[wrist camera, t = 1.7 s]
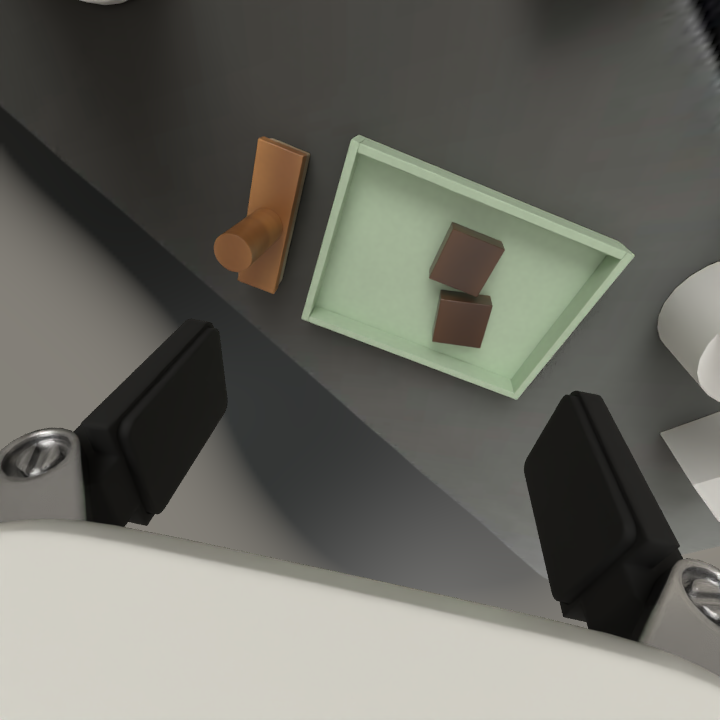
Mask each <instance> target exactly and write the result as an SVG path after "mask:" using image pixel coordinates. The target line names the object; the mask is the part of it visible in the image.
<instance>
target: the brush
mask: <svg viewBox="0 0 720 720" xmlns="http://www.w3.org/2000/svg"><path fill="white" fill-rule="evenodd" d="M309 158H310V153H308V152H305V151H303V150H300V149H298V148H295V147H293V146H290V145H288V144H285V143H283V142H280V141H278V140H275V139H273V138H271V139H269V138H266V137H261V138H258V144H257V151H256V158H255V165H254V172H253V178H252V185H251V192H250V199H249V206H248V213H247V217H246V218H244V219H243V220H241V221H240V222H239V223H237V224H236V225H234V226H233V227H231V228H230V229H229V230H227V231H226V232H224V233H223V234H221V235H220V236H219V237H218V238H217V239H216V241H215V243H214V253H215V256H216V258H217V260H218V261H219V263H220V264H221V265H222V266H223V267H225V268H226V269H228V270H230V271H233V272H239V274H238V281H241V282H243V283H246V284H248V285H251V286H254V287H256V288H259V289H262V290H264V291H267V292H270V293H272V294H274V293H275V292H276V290H277V289H278V285H279V283H280V282H281V281H282V278H283V274H284V269H285V265H286V261H287V256H288V252H289V247H290V243H291V238H292V234H293V229H294V225H295V221H296V216H297V212H298V207H299V203H300V198H301V194H302V189H303V185H304V181H305V176H306V172H307V167H308V163H309Z"/></svg>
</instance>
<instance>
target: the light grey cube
mask: <svg viewBox="0 0 720 720" xmlns="http://www.w3.org/2000/svg"><path fill="white" fill-rule="evenodd" d="M660 434H661V436H662V438H663V439H664V441H665V442H666V444H667V445H668V447H669V449H670V450H671V452H672V453H673V455H674V457H675V458H676V460H677V461H678V463H679V464H680V466H681V468H682V469H683V471H684V472H685V474H686V476H687V477H688V479H689V480H690V482H691V483H692V485H693V486H694V488H695V489H696V491H697V492H698V493H699V495H700V496H701V498H702V499H703V500H704V502H705V503H706V505H707V506H708V507H709V509H710V510H711V512H712V513H713V514H714V516H715V517H716V519H717V520H718V521H719V522H720V412H717V413H714V414H711V415H709V416H706V417H703V418H700V419H698V420H695V421H692V422H689V423H686V424H684V425H681V426H678V427H675V428H672V429H670V430H667V431H664V432H661V433H660Z"/></svg>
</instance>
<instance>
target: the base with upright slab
mask: <svg viewBox="0 0 720 720" xmlns="http://www.w3.org/2000/svg"><path fill="white" fill-rule="evenodd" d="M657 329H658V333H659V337H660V339H661V341H662V342H663V343H664V345H665V346H666V347H667V348H668V349H669V351H670V352H671V353H672V354H673V355H674V356H675V358H676V359H677V360H678V361H679V362H680V363H681V365H682V366H683V367H684V368H685V369H686V370H687V371H688V373H689V374H690V375H691V376H692V377H693V378H694V380H695V381H696V382H697V383H698V384H699V385H700V387H701V388H702V389H703V390H704V391H705V392H706V394H707V395H709V396H710V397H712V398H714V399H715V400H717V401H719V402H720V261H719V262H716V263H714V264H711V265H709V266H707V267H705V268H703V269H702V270H700V271H698V272H696V273H695V274H693V275H691V276H690V277H689V278H687V279H686V280H685V281H684V282H683V283H681V284H680V285H679V286H678V287H677V288H676V289H675V290H674V291H673V292H672V294H671V295H670V296H669V297H668V299H667V300H666V301H665V303H664V305H663V307H662V309H661V311H660V314H659V317H658V325H657Z"/></svg>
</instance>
